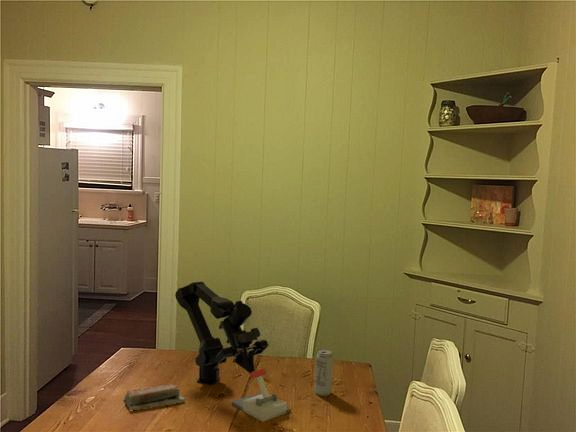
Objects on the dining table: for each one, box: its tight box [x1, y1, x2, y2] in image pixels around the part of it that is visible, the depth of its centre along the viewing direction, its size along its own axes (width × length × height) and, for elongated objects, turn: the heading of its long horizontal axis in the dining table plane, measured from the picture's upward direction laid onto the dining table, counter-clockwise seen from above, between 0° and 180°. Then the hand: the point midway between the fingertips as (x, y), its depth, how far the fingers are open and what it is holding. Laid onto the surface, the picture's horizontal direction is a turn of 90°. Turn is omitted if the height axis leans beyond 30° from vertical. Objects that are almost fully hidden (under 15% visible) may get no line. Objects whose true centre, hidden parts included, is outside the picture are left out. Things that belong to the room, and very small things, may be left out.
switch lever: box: [249, 367, 274, 403], centre depth 172 cm, size 2×5×10 cm
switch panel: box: [231, 392, 292, 423], centre depth 174 cm, size 16×12×5 cm
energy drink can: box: [314, 349, 334, 397], centre depth 188 cm, size 6×6×15 cm
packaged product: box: [123, 384, 185, 411], centre depth 176 cm, size 18×5×10 cm
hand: (253, 373), depth 175 cm, fingers closed
